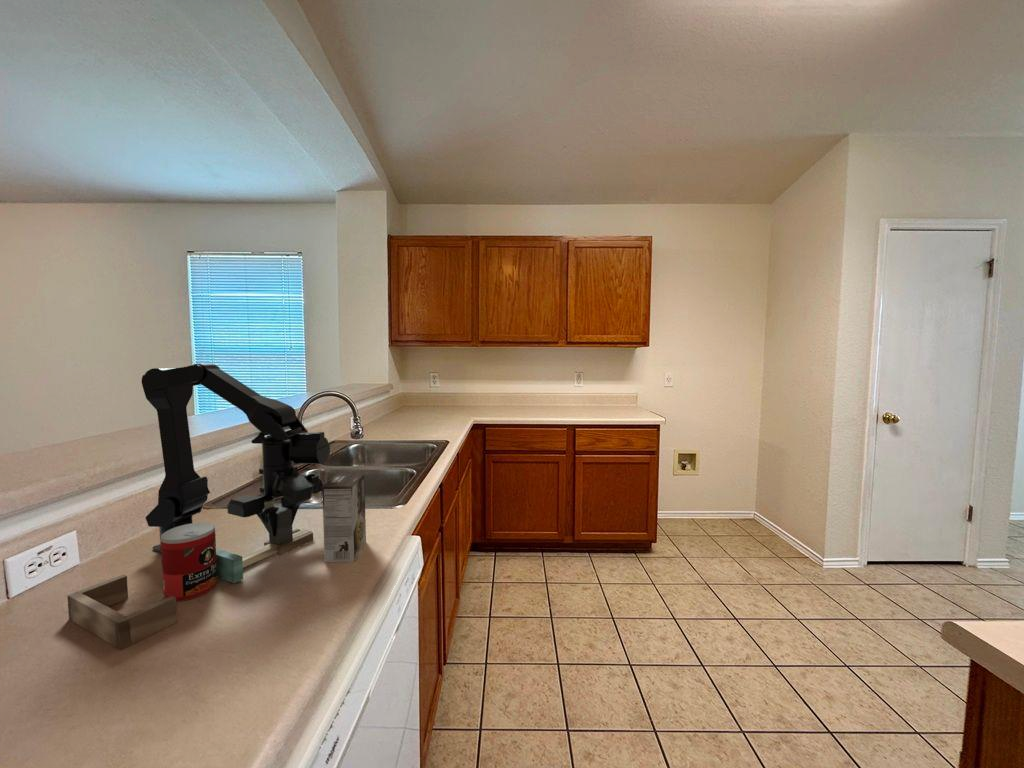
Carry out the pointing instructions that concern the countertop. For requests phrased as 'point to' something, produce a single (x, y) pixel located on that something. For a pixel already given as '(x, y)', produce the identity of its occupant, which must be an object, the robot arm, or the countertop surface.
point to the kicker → (233, 564)
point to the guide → (293, 542)
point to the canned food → (189, 560)
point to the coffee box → (344, 517)
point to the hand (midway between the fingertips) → (280, 533)
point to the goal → (111, 625)
